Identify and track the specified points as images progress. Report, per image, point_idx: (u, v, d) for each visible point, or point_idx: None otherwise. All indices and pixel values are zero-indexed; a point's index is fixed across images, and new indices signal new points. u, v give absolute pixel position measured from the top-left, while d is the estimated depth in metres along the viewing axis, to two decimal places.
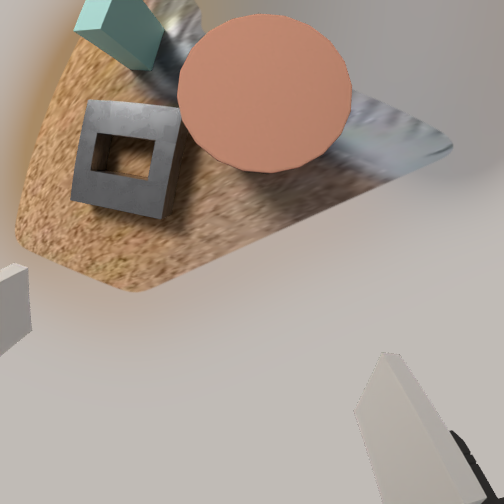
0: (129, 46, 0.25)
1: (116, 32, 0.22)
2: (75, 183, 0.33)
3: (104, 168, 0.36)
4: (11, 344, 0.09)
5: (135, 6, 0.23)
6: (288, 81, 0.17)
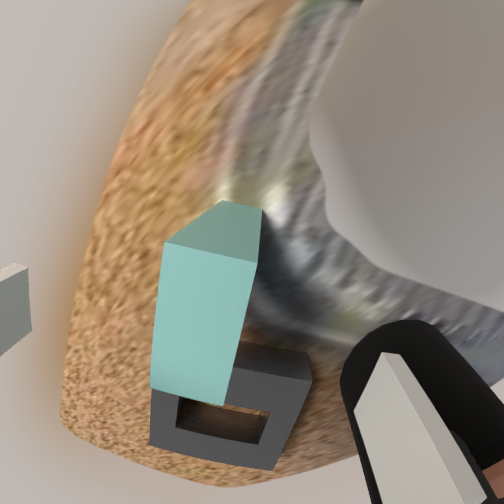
0: None
1: None
2: (155, 434, 0.25)
3: (183, 401, 0.28)
4: (11, 344, 0.09)
5: None
6: None
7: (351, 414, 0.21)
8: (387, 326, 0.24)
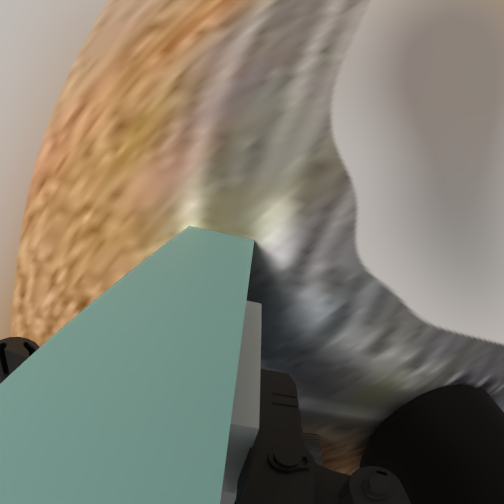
0: None
1: None
2: None
3: None
4: None
5: None
6: None
7: None
8: (430, 401, 0.15)
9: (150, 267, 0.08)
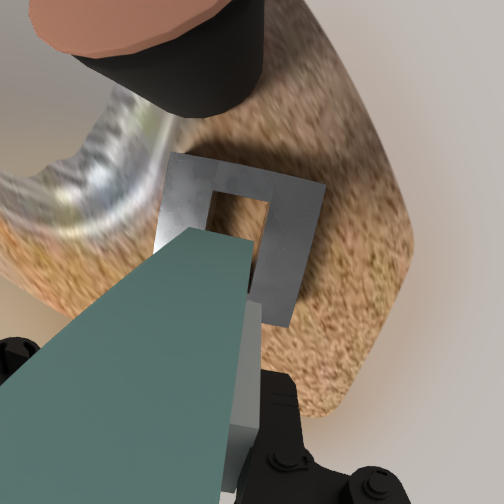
0: None
1: None
2: (265, 317, 0.26)
3: None
4: None
5: None
6: None
7: (190, 107, 0.20)
8: None
9: (149, 269, 0.08)
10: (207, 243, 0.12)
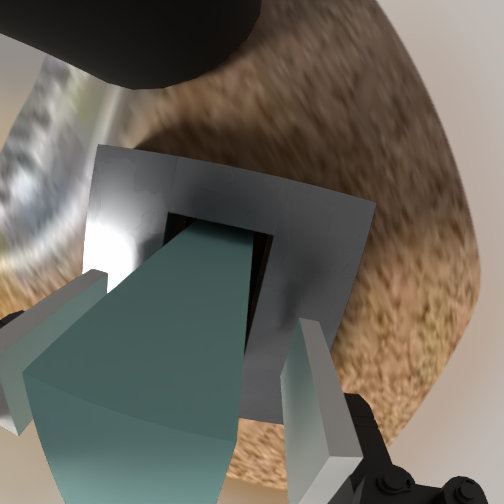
0: None
1: None
2: (264, 415, 0.15)
3: None
4: None
5: None
6: None
7: (122, 59, 0.09)
8: None
9: (174, 247, 0.11)
10: (215, 231, 0.15)
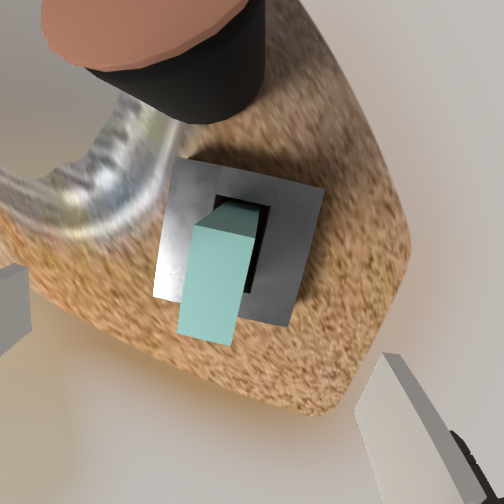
0: None
1: None
2: (266, 317, 0.27)
3: (249, 279, 0.30)
4: (11, 344, 0.09)
5: None
6: None
7: (194, 114, 0.21)
8: None
9: (221, 208, 0.23)
10: (239, 206, 0.27)
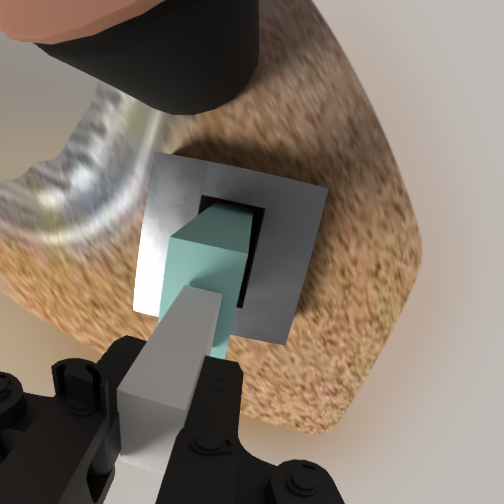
0: None
1: None
2: (260, 334, 0.24)
3: (242, 290, 0.27)
4: None
5: None
6: None
7: (175, 102, 0.18)
8: None
9: (208, 212, 0.19)
10: (229, 207, 0.23)
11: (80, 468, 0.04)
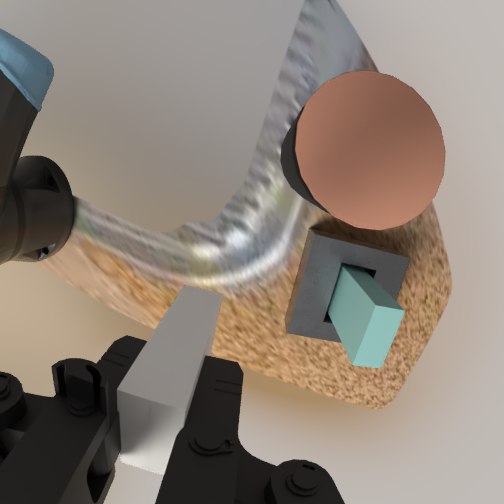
0: None
1: None
2: None
3: None
4: None
5: None
6: (372, 126, 0.18)
7: None
8: None
9: (354, 276, 0.33)
10: (351, 267, 0.37)
11: (80, 468, 0.04)
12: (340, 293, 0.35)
